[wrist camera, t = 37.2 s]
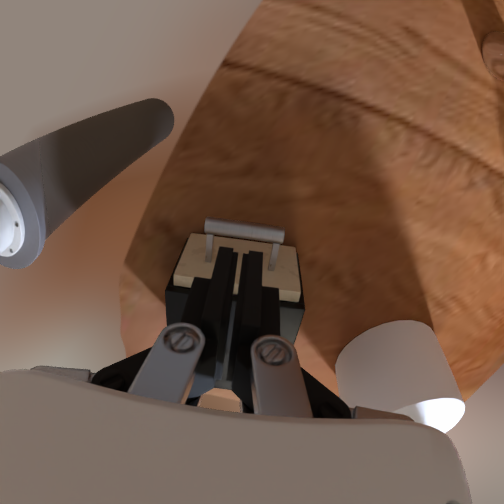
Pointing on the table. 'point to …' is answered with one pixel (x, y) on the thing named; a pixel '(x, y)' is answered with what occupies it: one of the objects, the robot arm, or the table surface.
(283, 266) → the drawer
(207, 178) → the table surface
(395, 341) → the cylinder
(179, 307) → the cabinet
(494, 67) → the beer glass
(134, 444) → the robot arm
